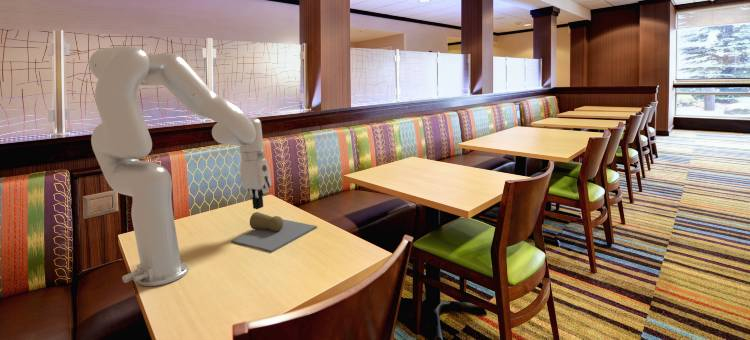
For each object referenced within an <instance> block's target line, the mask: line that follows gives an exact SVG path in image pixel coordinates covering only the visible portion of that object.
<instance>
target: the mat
mask: <svg viewBox="0 0 750 340" xmlns="http://www.w3.org/2000/svg"><path fill="white" fill-rule="evenodd" d="M282 219H283V227H282V229H281V230H280V231H272V230H271V229H252V230H250V231H248V232H246V233H244V234H242V235H239V236H237V237H235V238H233V239H231V240H230V242H231V243H234V244H238V245H240V246H241V245H242V246H244V247H245V246H246V247H249V248H254V249H257V250H261V251H265V252H269V253H274V252H275V251H277V250H279V249H281V248H283V247H285V246H286V245H288V244H291V243H292V242H293V241H295V240H297V239H299V238H301V237H303V236H305V235H306V234H308V233H310V232H312V231H314V230H316V229H317V228H318V225H314V224H308V223H303V222H299V221H293V220H289V219H284V218H282Z"/></svg>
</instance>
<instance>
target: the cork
mask: <svg viewBox="0 0 750 340" xmlns="http://www.w3.org/2000/svg"><path fill="white" fill-rule="evenodd" d="M283 219H284V218H282V217H281V216H279V215H274V216H271V215H268V214H264V213H261V212H259V211H258V212H257V211H255V212H253V213H252V214H251V216H250V218H249V226H250V228H251V229H252V230H255V229H271V230H272V231H280V230H281V229H282V227H283Z"/></svg>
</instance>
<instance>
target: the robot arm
mask: <svg viewBox="0 0 750 340" xmlns="http://www.w3.org/2000/svg"><path fill="white" fill-rule="evenodd" d="M88 62H89V63H88V66H89V69H90V71H91V73H92V75H93V76H94V77H95V78H97V79H98V80H97V81H96V86H95V90H94V99H95V100H94V101H95V104H96V109H97V111H98V114H99V116H100V119H101V122H100V123H99V124H98V125H96V126H95V128H94V129H93V131H92V133H91V139H90V142H91V143H90V144H91V147H92V151H93V153H94V155H95V158H96V160H97V162H98V165H99V166H100V169H101V172H102V174H103V176H104V178H105V180H106V182H107V184H108V186H109V187H110V188H111V190H113V191H114V192H116V193H118V194H120V195H124V196H128V197H132V204H131V220H132V226H133V231H134V236H135V241H136V247H137V252H138V253H137V254H138V257H139V263H138V264H137V265H136V269H134V271H132V272H131V273H130V272H128V273H127V274H125V275H123V276H121V279H122V282H123V283H124V284H126V283H129V282H131V281H133V282H134V283H137V284H138V285H141V286H144V287H154V286H155V287H156V286H161V285H165V284H170V283H171V282H172V283H173V282H175V281H177V280H179V279H181V278H182V277H184V276H185V275H186V274H187V273H188V271H189V264H188V263H186V262H185V261H182V260H181V254H180V248H179V241H178V235H177V229H176V224H175V223H176V222H175V218H174V211H173V203H172V189H173V185H172V184H173V182H172V177H171V175H170V174H171V173H170V172H169V171H168V170H167V169H166V167H164V166H162V165H161V164H158V163H156V162H152V161H144V160H140V159H144V158H145V157H147V156H148V155H149V154H150V153H151V151H152V148H153V141H152V137H151V135H150V132H149V129H148V127H147V124H146V121H145V119H144V116H143V113H142V110H141V107H140V104H139V99H138V98H139V97H138V94H139V89H140V86H163V87H165V88H166V89H167V90H168V91H169V93H171V94H172V95H173V96H174V97H175V98H176V99H177V100H178V101H179V102H180V103H181V104H182V105H183V106H184V107H185V108H186V109H187V110H189V111H190V112H191V113H194V114H196V115H198V116H201V117H203V118H206V119H210V120H212V121H214V122H215V124H214V125H213V127H212V129H211V135H212V138H213V139H214V141H216V142H217V143H219V144H222V145H229V146H239V151H240V153H239V154H240V159H241V160H240V167H239V168H240V169H239V170H240V182H241V186H242V187H243V190H245V191H247V192H248V193H249V195H250V198H251V199H252V200H251V201H252V208H253V210H255V209H256V210H259V209H262V208H263V207H264V196H265V194H268V193H270V189H269V188H271V187H272V177H271V170H270V167H269V164H268V163H269V162H268V160H267V159H266V158H265V157H266V153H265V149H264V138H263V131H262V130H263V129H262V121H261V120H260V119H259V118H256V117H248V116H247V115H246V114H245V113H244V112H243V111H242V110H241V109H240V108H239V107H238V106H237V105H235V104H233V103H232V102H230V101H229V100H227V99H226V98H224V97H222V96H221V95H219V94H218V93H216V92H214V91H213V90H212V89H211V88H210V87H209V86H208V85H207V84H206V82H204V80H203V79H202V78H201V77H200V76H199V75H198V74H197V73H196V71H195V70H194V69H193V68H192V67H191V66H190V64H188V62H187V61H186V60H185V59H184V58H183V57H181V56H180V55H178V54H177V53H174V52H157V53H146V52H145V50H143V49H142V48H140V47H138V46H135V45H119V46H118V45H117V46H111V47H106V48H105V47H104V48H100V49H97V50H96V51H94V52H93V53H92V54H91V56H90V57H89V61H88Z"/></svg>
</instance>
